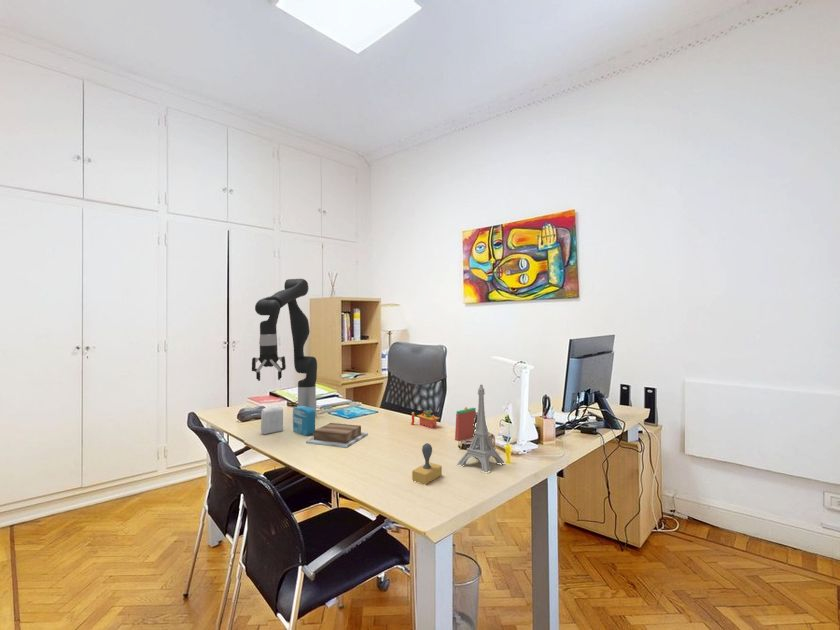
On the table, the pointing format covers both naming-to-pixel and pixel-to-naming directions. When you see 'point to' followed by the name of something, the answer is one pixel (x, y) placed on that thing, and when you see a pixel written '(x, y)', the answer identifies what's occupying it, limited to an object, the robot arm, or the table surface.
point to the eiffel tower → (481, 440)
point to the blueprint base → (337, 435)
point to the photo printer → (271, 419)
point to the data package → (304, 420)
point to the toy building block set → (462, 422)
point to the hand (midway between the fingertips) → (269, 380)
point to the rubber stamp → (426, 468)
